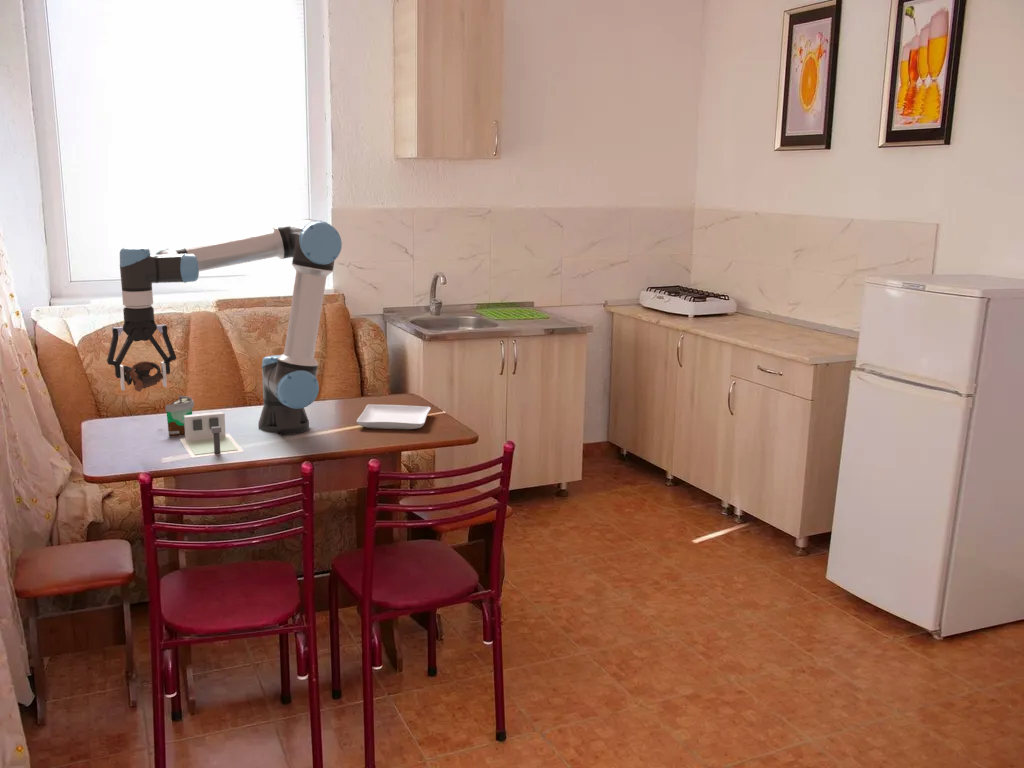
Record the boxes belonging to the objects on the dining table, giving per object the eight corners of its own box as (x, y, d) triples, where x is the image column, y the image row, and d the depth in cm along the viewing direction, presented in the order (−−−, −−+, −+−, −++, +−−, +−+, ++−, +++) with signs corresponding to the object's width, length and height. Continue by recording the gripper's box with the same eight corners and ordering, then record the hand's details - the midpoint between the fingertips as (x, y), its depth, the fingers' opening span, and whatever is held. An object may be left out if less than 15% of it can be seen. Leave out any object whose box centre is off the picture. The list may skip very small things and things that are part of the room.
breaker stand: (228, 436, 277) (227, 410, 275) (244, 455, 260) (242, 427, 258) (179, 442, 271) (178, 415, 269) (191, 461, 254) (190, 432, 252)
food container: (188, 438, 275) (186, 405, 273) (167, 437, 275) (165, 405, 272) (201, 427, 287) (199, 395, 285) (181, 426, 287) (179, 395, 284)
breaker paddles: (218, 427, 272) (217, 417, 272) (218, 428, 272) (218, 418, 271) (193, 430, 269) (192, 419, 268) (193, 430, 268) (193, 420, 268)
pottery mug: (166, 384, 259) (168, 362, 254) (155, 406, 252) (156, 384, 247) (122, 374, 258) (123, 351, 253) (109, 396, 250) (110, 373, 245)
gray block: (221, 452, 259) (220, 426, 257) (222, 453, 257) (221, 427, 256) (212, 453, 258) (211, 426, 256) (213, 454, 256) (212, 428, 254)
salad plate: (424, 433, 287) (424, 422, 286) (355, 431, 287) (355, 420, 287) (431, 415, 308) (431, 405, 307) (367, 414, 308) (367, 403, 307)
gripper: (180, 302, 256) (185, 381, 261) (90, 306, 245) (97, 388, 250) (184, 305, 249) (189, 386, 254) (93, 310, 239) (100, 394, 244)
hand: (144, 387), depth 252 cm, fingers closed on pottery mug, 10 cm apart
